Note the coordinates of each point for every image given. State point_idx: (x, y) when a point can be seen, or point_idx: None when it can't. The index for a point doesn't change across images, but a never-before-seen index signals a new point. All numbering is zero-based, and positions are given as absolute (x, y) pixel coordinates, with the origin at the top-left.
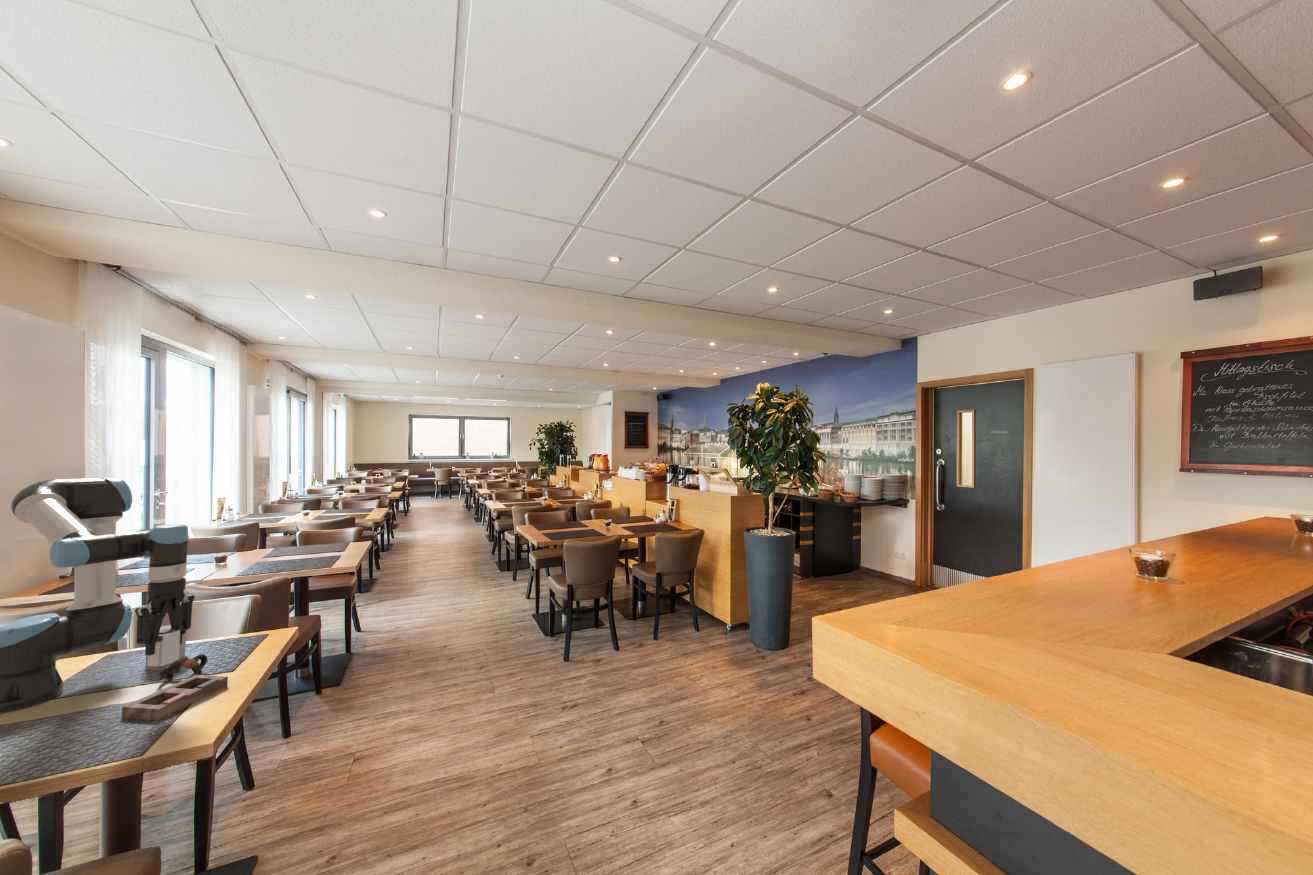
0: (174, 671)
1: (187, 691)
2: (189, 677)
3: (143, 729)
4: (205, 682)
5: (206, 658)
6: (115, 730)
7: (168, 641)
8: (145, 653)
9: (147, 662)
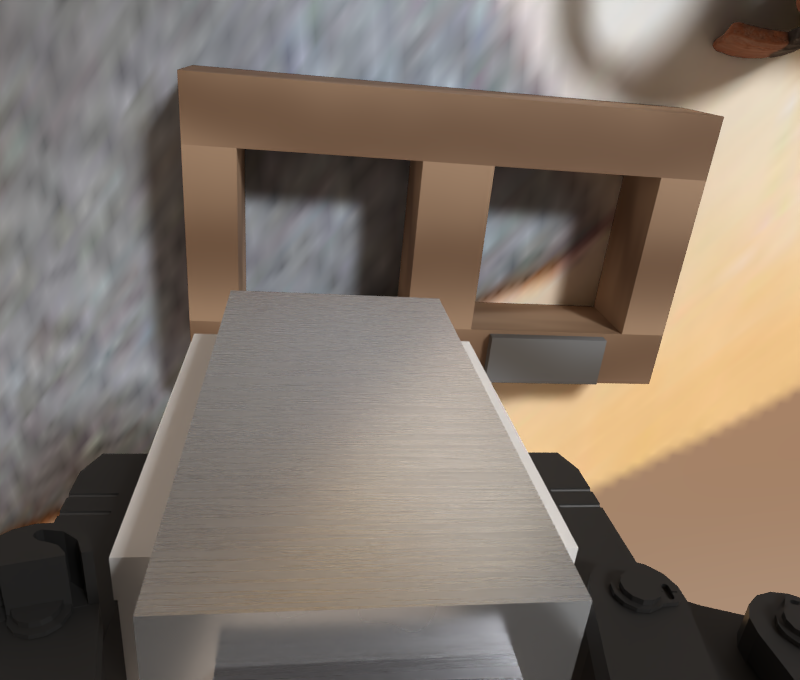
0: None
1: None
2: (736, 35)
3: (105, 360)
4: (552, 340)
5: None
6: (55, 205)
7: None
8: (77, 482)
9: (185, 357)
